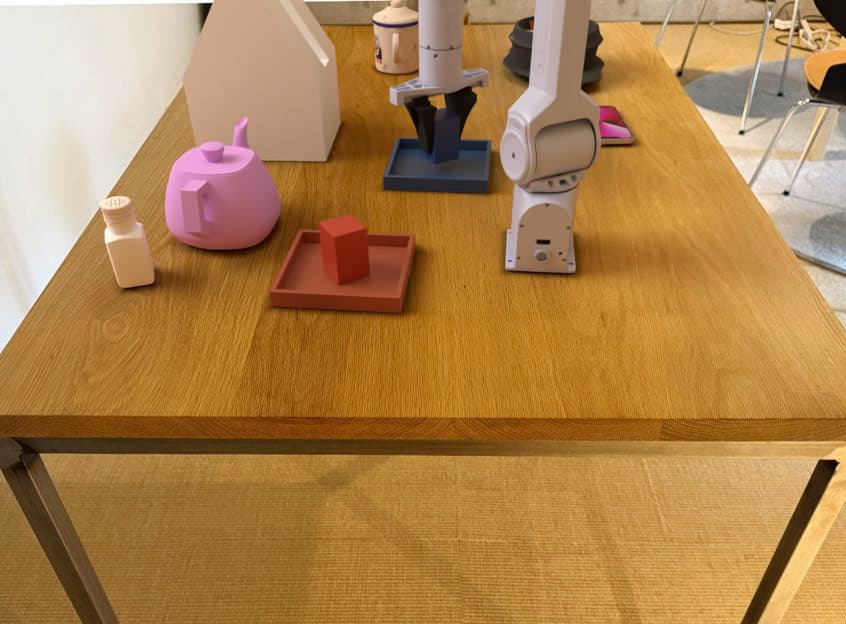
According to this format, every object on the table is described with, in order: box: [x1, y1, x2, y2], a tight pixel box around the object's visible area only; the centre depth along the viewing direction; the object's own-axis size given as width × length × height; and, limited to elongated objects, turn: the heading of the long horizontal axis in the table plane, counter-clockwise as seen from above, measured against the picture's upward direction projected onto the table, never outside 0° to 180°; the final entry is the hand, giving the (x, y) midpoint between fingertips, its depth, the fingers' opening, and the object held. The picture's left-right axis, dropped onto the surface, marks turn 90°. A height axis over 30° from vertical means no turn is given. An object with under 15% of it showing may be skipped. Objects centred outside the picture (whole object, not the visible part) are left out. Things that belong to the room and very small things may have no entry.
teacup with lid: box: [371, 0, 419, 75], centre depth 140 cm, size 12×9×12 cm
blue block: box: [420, 107, 460, 165], centre depth 106 cm, size 4×4×6 cm
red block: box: [318, 213, 370, 285], centre depth 85 cm, size 4×4×6 cm
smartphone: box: [598, 105, 635, 145], centre depth 120 cm, size 7×1×15 cm
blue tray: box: [382, 136, 493, 194], centre depth 108 cm, size 14×14×2 cm
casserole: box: [502, 15, 605, 85], centre depth 138 cm, size 25×19×8 cm
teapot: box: [164, 117, 282, 251], centre depth 93 cm, size 13×20×11 cm
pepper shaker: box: [99, 195, 156, 289], centre depth 84 cm, size 4×4×10 cm
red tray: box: [268, 228, 417, 314], centre depth 86 cm, size 14×14×2 cm
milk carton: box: [181, 0, 342, 162], centre depth 110 cm, size 19×15×25 cm
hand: (439, 147), depth 107 cm, fingers closed on blue block, 4 cm apart
